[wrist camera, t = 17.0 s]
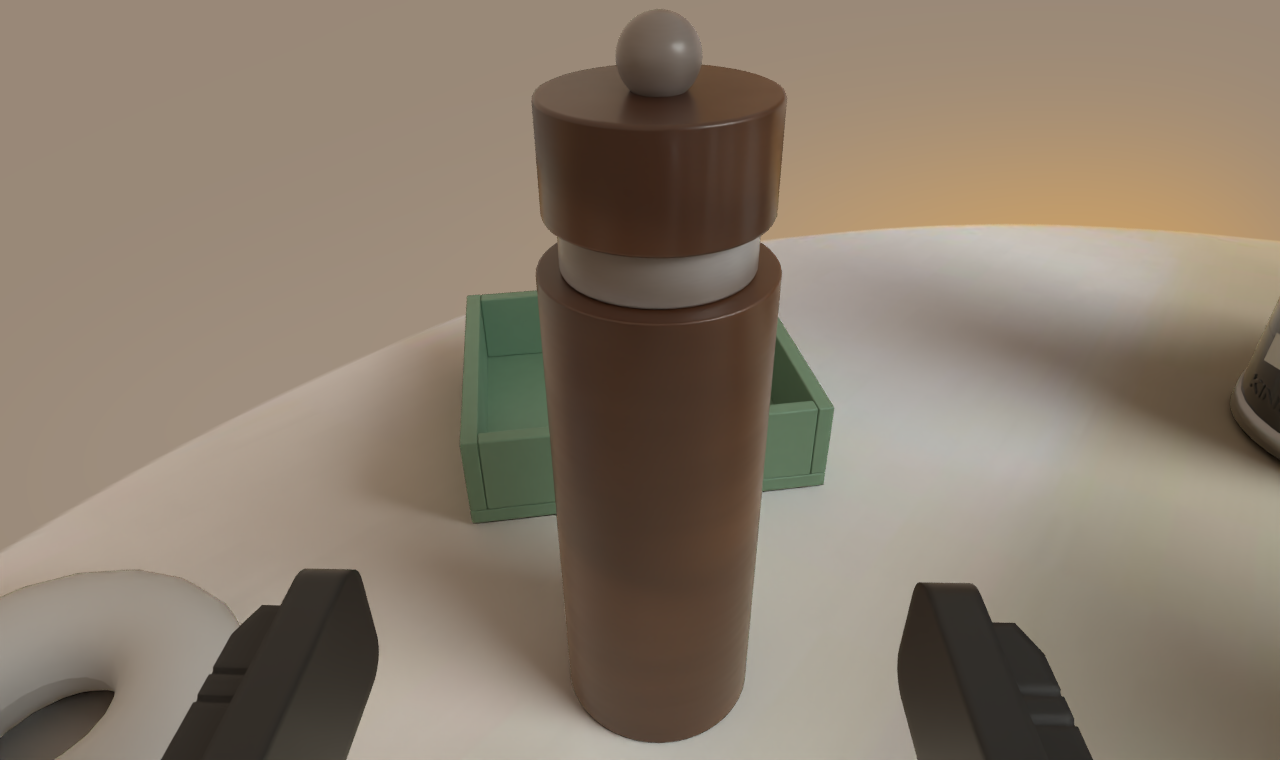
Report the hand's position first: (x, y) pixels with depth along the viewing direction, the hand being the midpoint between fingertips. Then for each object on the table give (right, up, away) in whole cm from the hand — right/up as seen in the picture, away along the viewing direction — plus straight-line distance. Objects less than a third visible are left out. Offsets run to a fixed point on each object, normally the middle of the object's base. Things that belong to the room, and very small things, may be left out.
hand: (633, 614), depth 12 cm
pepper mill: (+1, -5, +13) cm, 13 cm away
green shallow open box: (0, +2, +23) cm, 23 cm away
